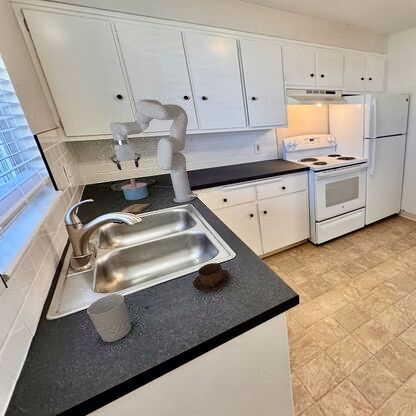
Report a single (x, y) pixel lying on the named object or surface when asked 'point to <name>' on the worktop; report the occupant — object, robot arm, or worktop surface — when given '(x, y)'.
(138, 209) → the trivet
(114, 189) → the decorative plate
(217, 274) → the cup and saucer
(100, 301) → the white cup
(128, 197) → the bowl
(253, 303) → the worktop surface
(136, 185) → the plate lid
